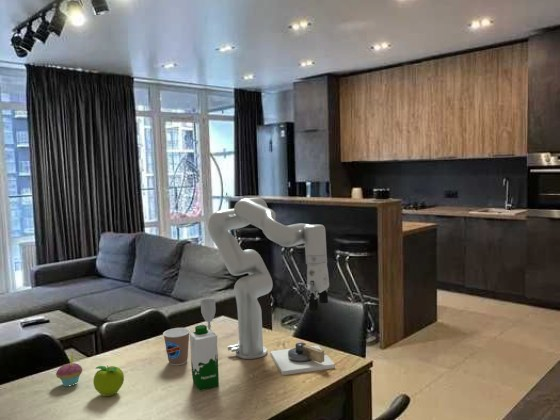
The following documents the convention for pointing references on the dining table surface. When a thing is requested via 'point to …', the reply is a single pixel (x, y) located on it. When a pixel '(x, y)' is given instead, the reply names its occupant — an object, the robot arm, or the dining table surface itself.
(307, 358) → the cam dial
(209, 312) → the chalice
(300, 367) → the base plate
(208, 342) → the milk carton
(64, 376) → the cupcake
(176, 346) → the coffee cup
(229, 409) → the dining table surface
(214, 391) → the dining table surface
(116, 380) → the fruit
